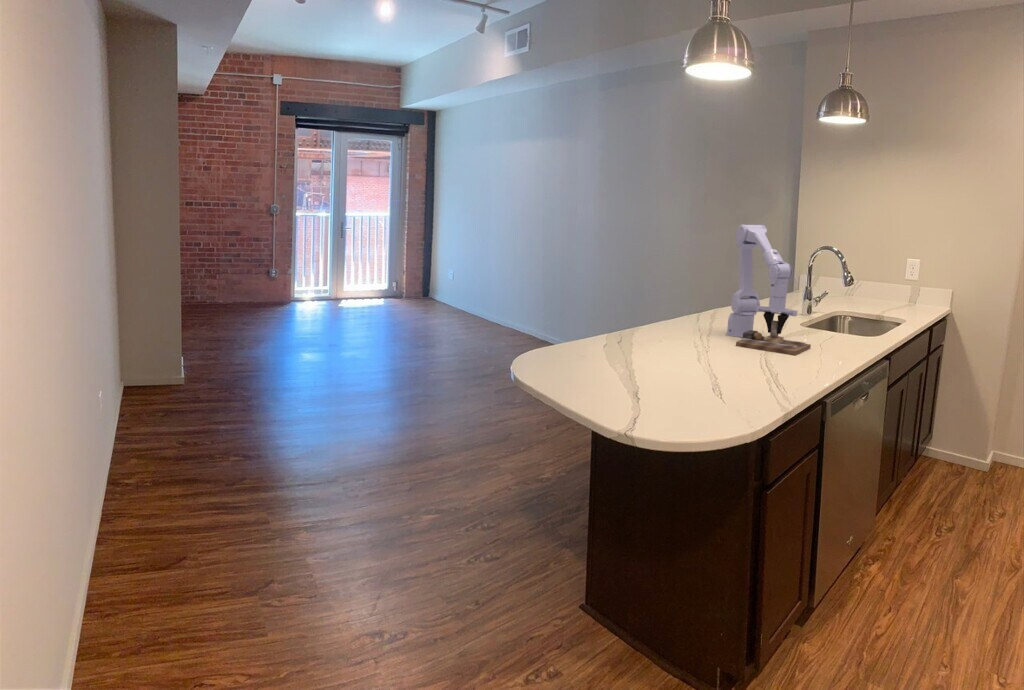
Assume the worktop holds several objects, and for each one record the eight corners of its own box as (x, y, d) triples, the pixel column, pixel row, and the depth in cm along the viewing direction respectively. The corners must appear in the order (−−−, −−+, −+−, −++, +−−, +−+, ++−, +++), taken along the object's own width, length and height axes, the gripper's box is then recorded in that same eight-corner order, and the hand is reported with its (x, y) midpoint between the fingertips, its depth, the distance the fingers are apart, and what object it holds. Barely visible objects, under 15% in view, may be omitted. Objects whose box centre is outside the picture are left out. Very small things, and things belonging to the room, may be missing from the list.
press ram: (763, 342, 268) (765, 321, 266) (769, 340, 272) (771, 319, 270) (777, 344, 264) (779, 323, 263) (783, 342, 269) (785, 321, 267)
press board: (735, 345, 269) (736, 333, 268) (752, 339, 281) (753, 327, 280) (795, 355, 256) (796, 342, 255) (810, 348, 268) (811, 336, 267)
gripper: (754, 295, 266) (751, 331, 269) (794, 300, 257) (790, 337, 260) (761, 293, 271) (758, 329, 274) (800, 298, 262) (797, 334, 265)
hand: (774, 333), depth 267 cm, fingers closed on press ram, 3 cm apart
